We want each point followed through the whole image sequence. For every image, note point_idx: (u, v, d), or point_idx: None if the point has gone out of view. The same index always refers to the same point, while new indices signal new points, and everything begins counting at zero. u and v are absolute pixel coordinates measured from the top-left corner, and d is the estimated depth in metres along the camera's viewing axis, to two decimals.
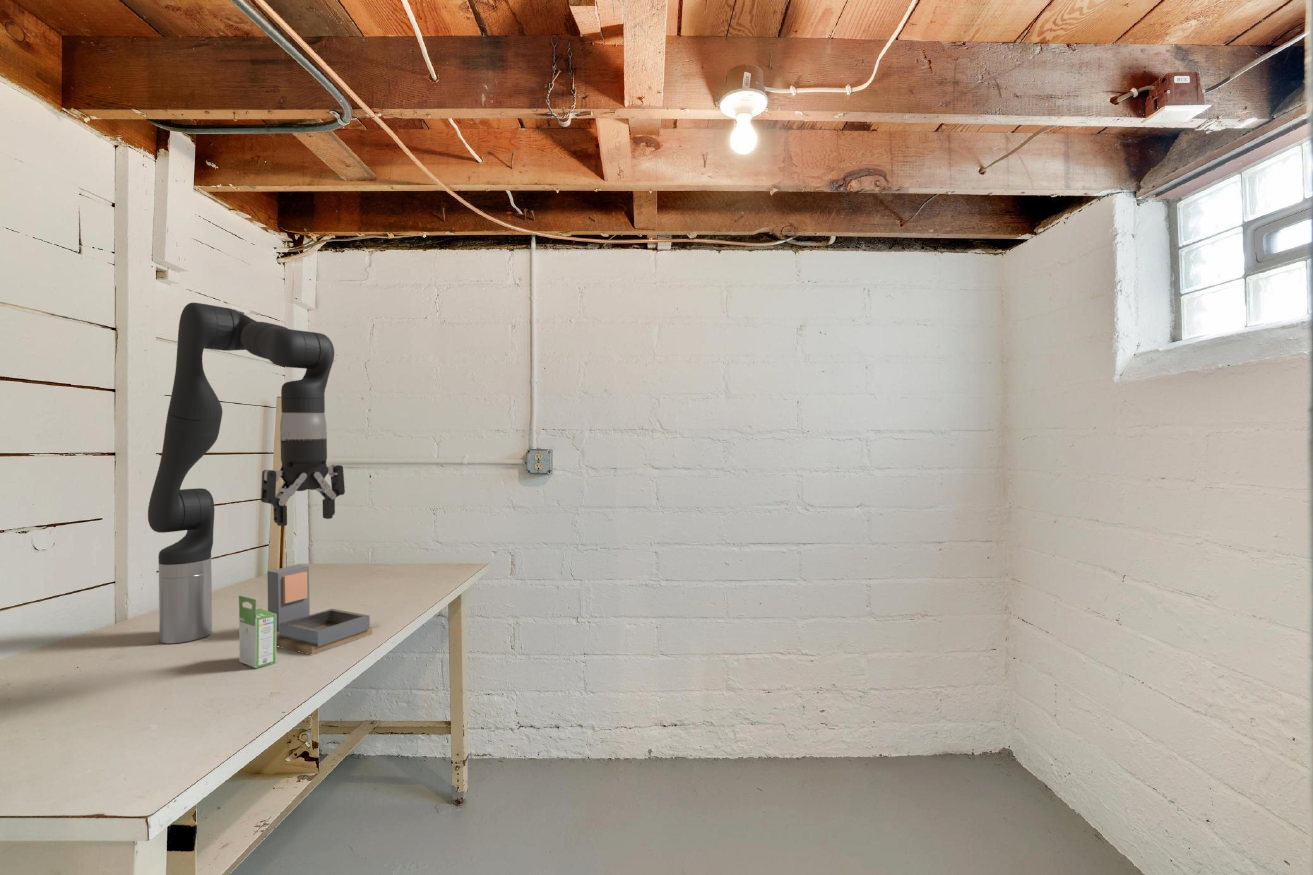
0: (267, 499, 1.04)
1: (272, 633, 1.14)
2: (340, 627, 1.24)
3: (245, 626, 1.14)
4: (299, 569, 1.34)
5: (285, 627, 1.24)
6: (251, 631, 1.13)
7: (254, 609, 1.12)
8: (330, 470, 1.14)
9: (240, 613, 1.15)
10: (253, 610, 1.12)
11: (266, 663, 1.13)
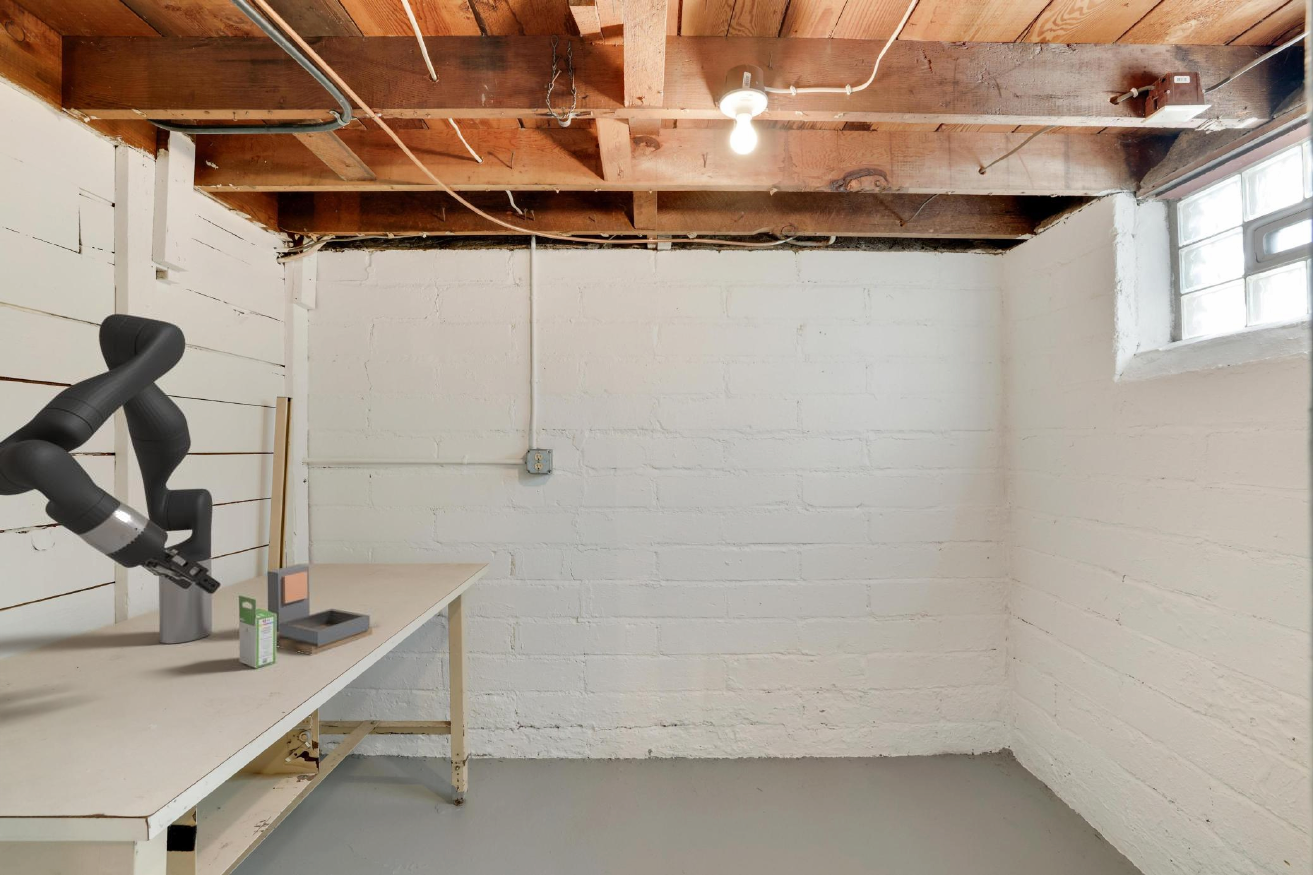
0: None
1: (272, 633, 1.14)
2: (340, 627, 1.24)
3: (245, 626, 1.14)
4: (299, 569, 1.34)
5: (285, 627, 1.24)
6: (251, 631, 1.13)
7: (254, 609, 1.12)
8: None
9: (240, 613, 1.15)
10: (253, 610, 1.12)
11: (266, 663, 1.13)
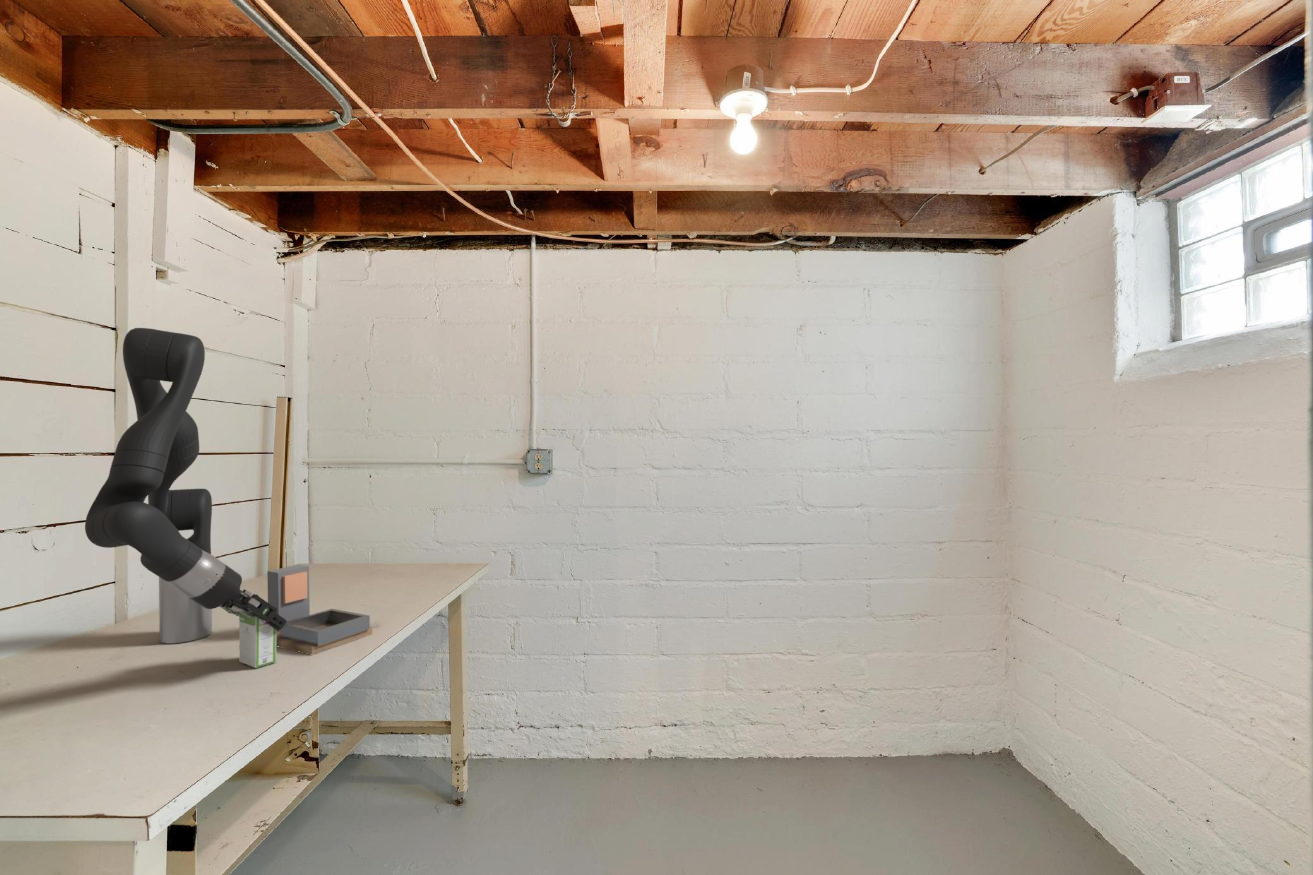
0: (228, 610, 1.17)
1: (272, 633, 1.14)
2: (340, 627, 1.24)
3: (245, 626, 1.14)
4: (299, 569, 1.34)
5: (285, 627, 1.24)
6: (251, 631, 1.13)
7: None
8: (246, 603, 1.09)
9: (240, 613, 1.15)
10: None
11: (266, 663, 1.13)
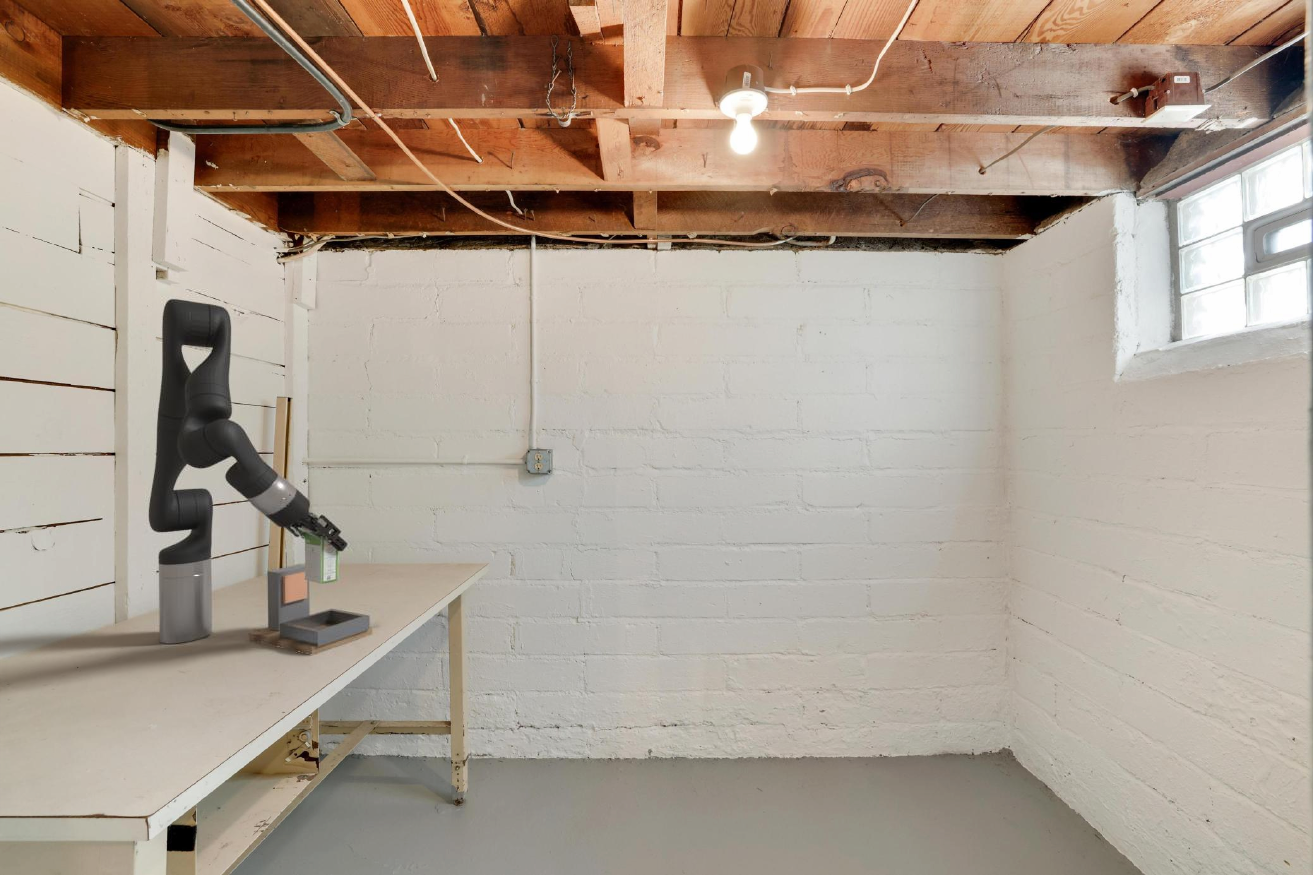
0: None
1: (335, 553, 1.26)
2: (340, 627, 1.24)
3: (310, 547, 1.26)
4: (299, 569, 1.34)
5: (285, 627, 1.24)
6: (316, 551, 1.25)
7: None
8: (314, 523, 1.21)
9: (306, 535, 1.27)
10: None
11: (330, 580, 1.25)
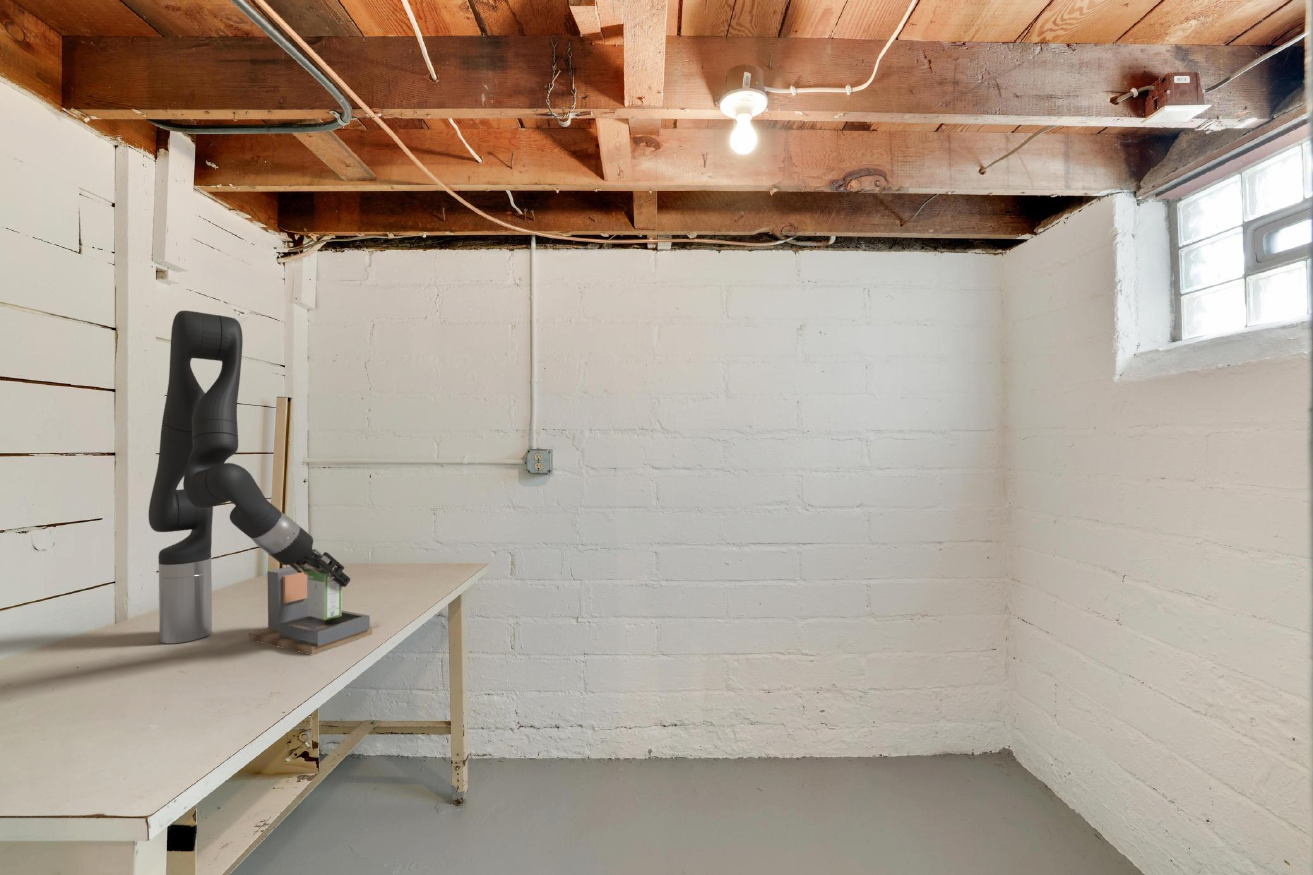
0: (297, 569, 1.29)
1: (338, 589, 1.27)
2: (340, 627, 1.24)
3: (314, 583, 1.26)
4: None
5: (285, 627, 1.24)
6: (320, 587, 1.25)
7: None
8: (317, 560, 1.21)
9: (309, 571, 1.27)
10: (322, 567, 1.25)
11: (333, 616, 1.26)
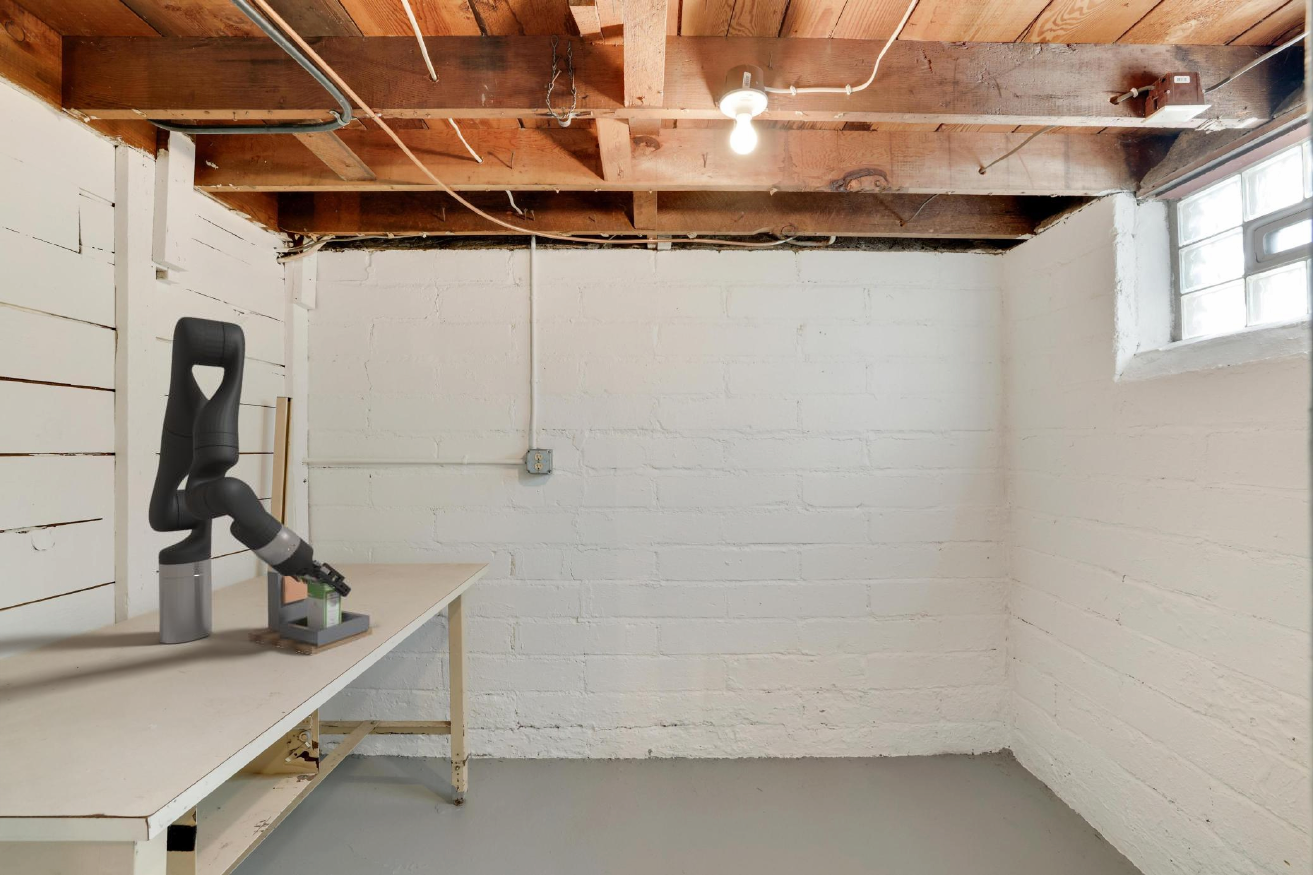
0: None
1: (338, 606, 1.27)
2: (340, 627, 1.24)
3: (313, 600, 1.26)
4: None
5: (285, 627, 1.24)
6: (319, 604, 1.25)
7: None
8: (317, 571, 1.21)
9: (309, 588, 1.27)
10: (322, 585, 1.25)
11: None
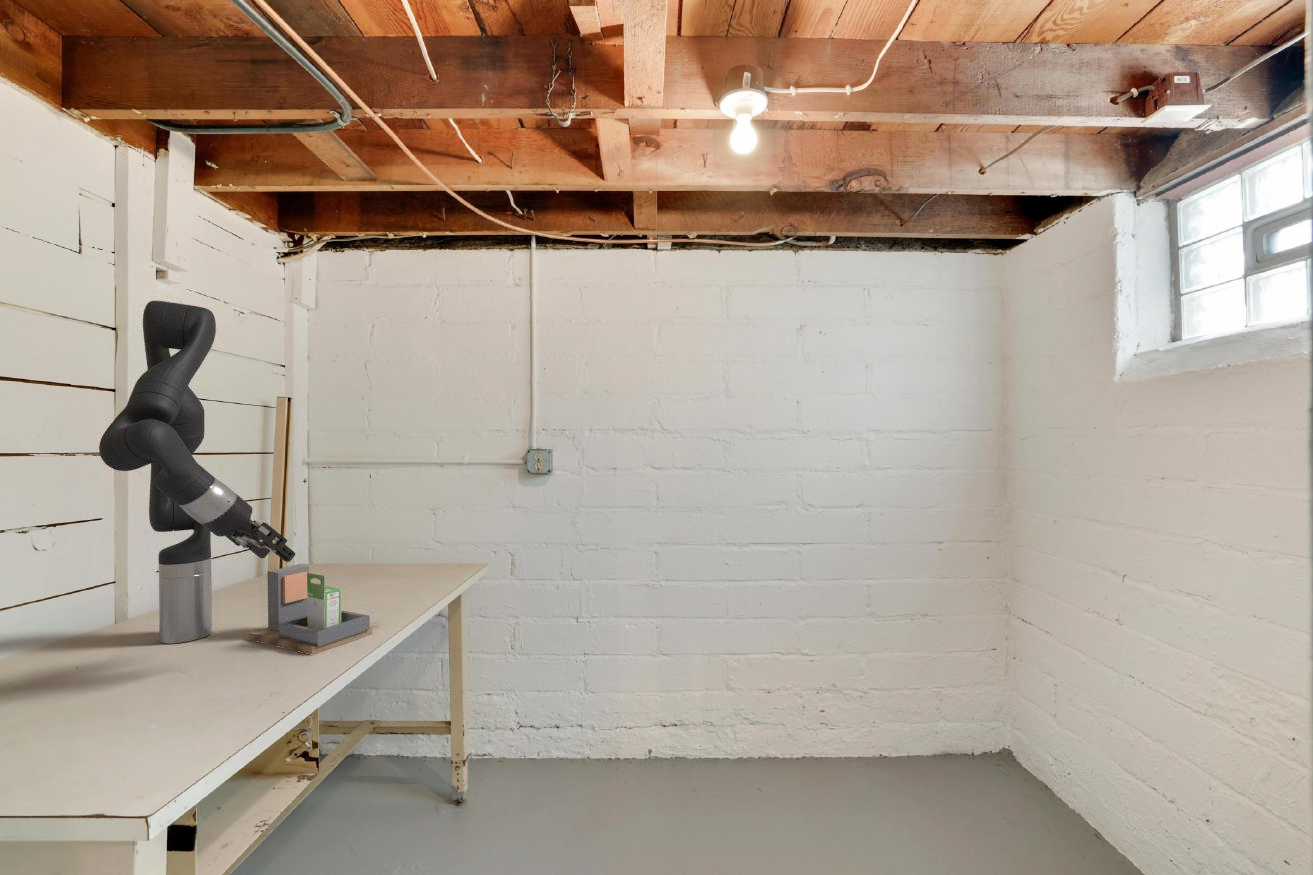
0: (235, 542, 1.18)
1: (338, 606, 1.27)
2: (340, 627, 1.24)
3: (313, 600, 1.26)
4: (299, 569, 1.34)
5: (285, 627, 1.24)
6: (319, 604, 1.25)
7: (323, 584, 1.24)
8: None
9: (309, 588, 1.27)
10: (322, 585, 1.25)
11: None
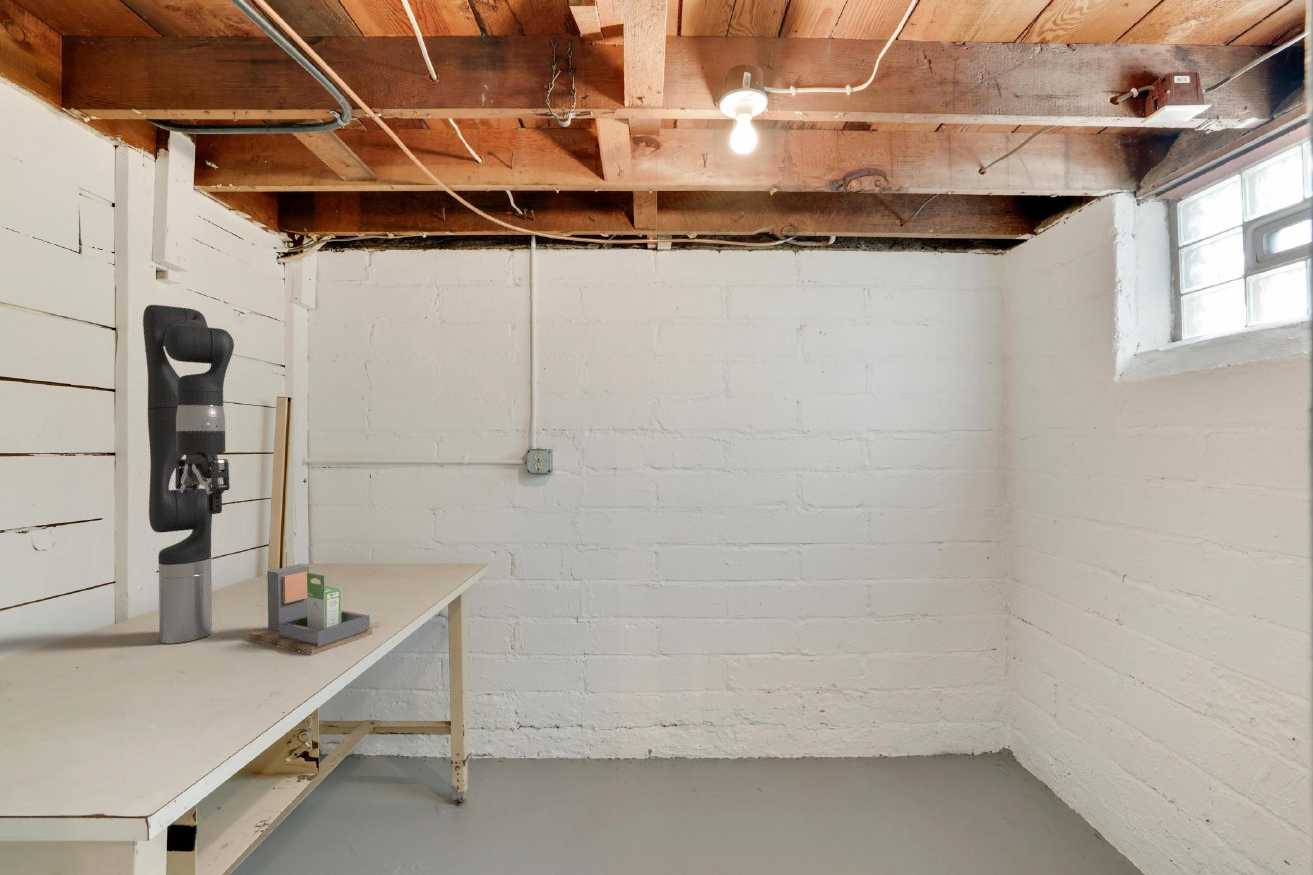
0: None
1: (338, 606, 1.27)
2: (340, 627, 1.24)
3: (313, 600, 1.26)
4: (299, 569, 1.34)
5: (285, 627, 1.24)
6: (319, 604, 1.25)
7: (323, 584, 1.24)
8: None
9: (309, 588, 1.27)
10: (322, 585, 1.25)
11: None
